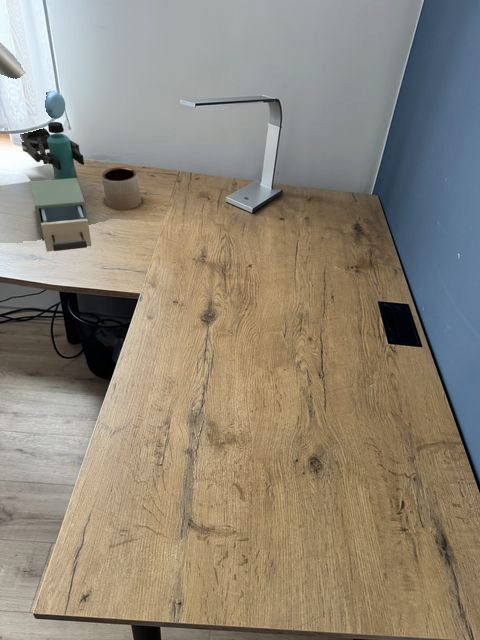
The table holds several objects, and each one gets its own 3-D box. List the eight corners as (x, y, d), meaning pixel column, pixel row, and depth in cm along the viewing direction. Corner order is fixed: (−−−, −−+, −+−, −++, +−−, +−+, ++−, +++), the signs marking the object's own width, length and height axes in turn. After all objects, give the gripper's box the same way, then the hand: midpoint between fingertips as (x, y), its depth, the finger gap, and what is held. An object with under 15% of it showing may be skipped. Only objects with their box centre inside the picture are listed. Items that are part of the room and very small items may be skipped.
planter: (124, 192, 164) (120, 163, 158) (148, 202, 160) (145, 172, 153) (99, 204, 157) (92, 175, 151) (123, 215, 153) (118, 185, 146)
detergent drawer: (96, 262, 133) (92, 233, 127) (50, 268, 129) (44, 238, 123) (84, 225, 146) (80, 196, 140) (42, 229, 142) (36, 200, 136)
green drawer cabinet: (89, 236, 143) (84, 201, 136) (42, 241, 139) (34, 205, 132) (81, 211, 153) (76, 178, 146) (37, 215, 148) (29, 181, 141)
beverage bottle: (82, 192, 156) (70, 125, 143) (61, 196, 153) (47, 128, 140) (75, 184, 160) (63, 118, 147) (54, 188, 157) (39, 121, 144)
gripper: (64, 141, 166) (102, 168, 155) (5, 153, 155) (41, 182, 144) (60, 118, 161) (99, 143, 150) (-1, 128, 150) (36, 156, 139)
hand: (71, 162), depth 147 cm, fingers closed on beverage bottle, 6 cm apart
